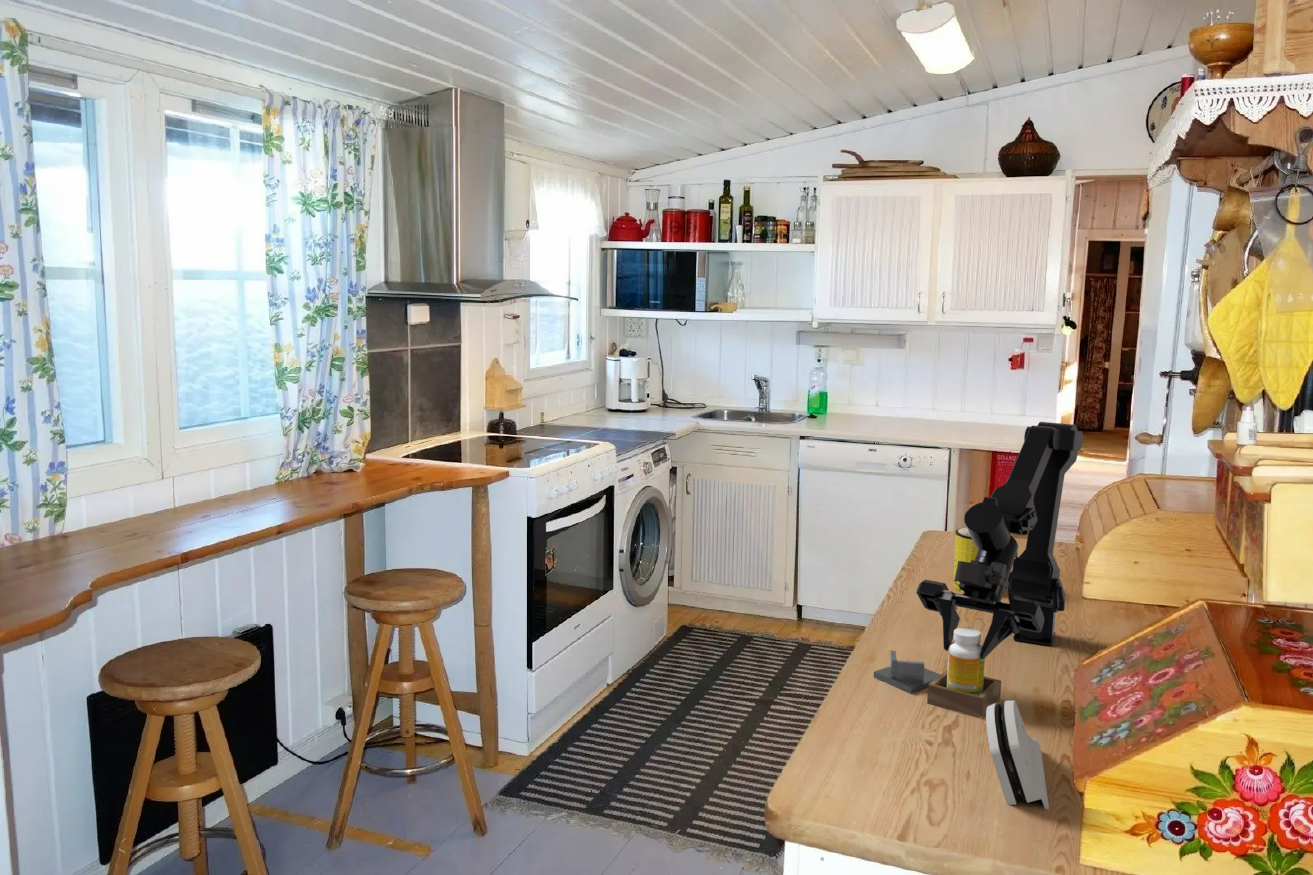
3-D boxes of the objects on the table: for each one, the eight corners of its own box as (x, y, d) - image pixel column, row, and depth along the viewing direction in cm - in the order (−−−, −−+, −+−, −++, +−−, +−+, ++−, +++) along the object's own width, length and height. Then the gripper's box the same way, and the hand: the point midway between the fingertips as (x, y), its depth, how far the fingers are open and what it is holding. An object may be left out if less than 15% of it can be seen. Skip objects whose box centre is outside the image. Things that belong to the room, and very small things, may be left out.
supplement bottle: (984, 700, 155) (987, 639, 153) (948, 697, 156) (950, 636, 154) (981, 685, 160) (983, 626, 158) (945, 683, 161) (947, 624, 160)
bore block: (948, 685, 164) (949, 667, 163) (1000, 698, 159) (1001, 680, 158) (927, 703, 157) (927, 684, 157) (980, 717, 152) (981, 698, 152)
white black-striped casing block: (1049, 810, 126) (1024, 736, 126) (1010, 817, 128) (986, 743, 127) (1041, 750, 142) (1019, 683, 142) (1006, 756, 144) (984, 690, 143)
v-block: (907, 666, 172) (908, 643, 171) (944, 682, 165) (946, 658, 165) (873, 677, 167) (874, 654, 167) (911, 693, 161) (912, 669, 160)
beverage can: (1003, 586, 215) (1006, 530, 213) (991, 597, 207) (994, 540, 205) (960, 579, 220) (962, 525, 218) (947, 590, 212) (950, 534, 210)
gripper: (923, 530, 163) (891, 616, 156) (1042, 549, 151) (1013, 643, 145) (940, 566, 170) (911, 649, 164) (1055, 586, 159) (1029, 677, 152)
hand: (963, 653), depth 156 cm, fingers closed on supplement bottle, 5 cm apart
